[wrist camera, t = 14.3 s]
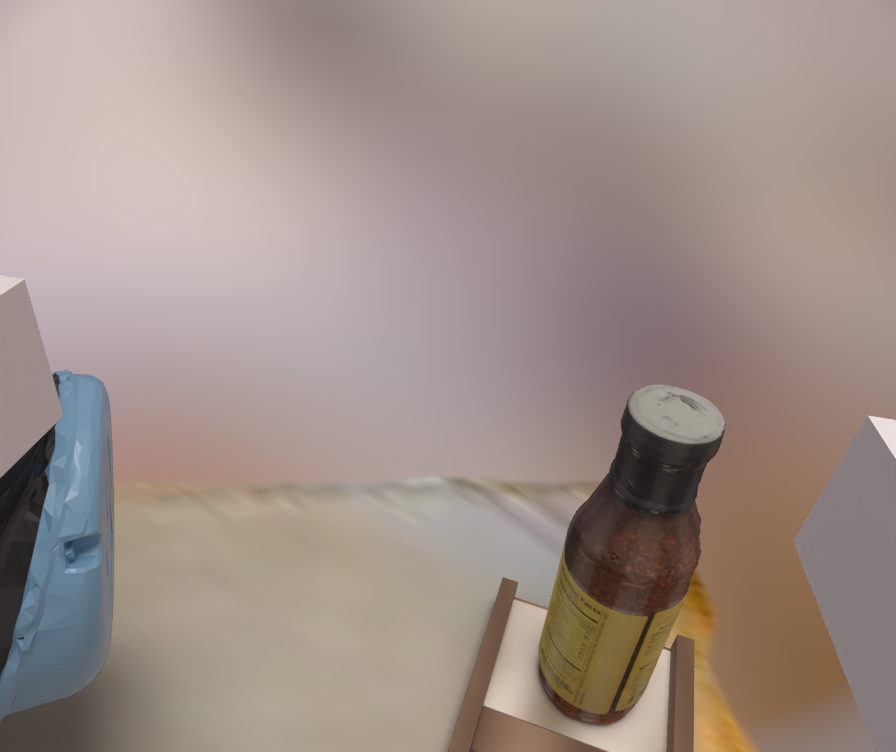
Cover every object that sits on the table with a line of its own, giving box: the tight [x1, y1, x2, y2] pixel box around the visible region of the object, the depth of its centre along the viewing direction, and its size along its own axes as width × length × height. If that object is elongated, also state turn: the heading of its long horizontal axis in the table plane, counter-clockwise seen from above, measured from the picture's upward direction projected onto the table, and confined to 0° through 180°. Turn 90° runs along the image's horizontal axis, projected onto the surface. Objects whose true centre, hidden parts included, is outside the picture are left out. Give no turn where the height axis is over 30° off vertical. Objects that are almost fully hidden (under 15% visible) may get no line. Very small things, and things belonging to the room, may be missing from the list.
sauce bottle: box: [539, 385, 725, 724], centre depth 33 cm, size 7×6×20 cm
